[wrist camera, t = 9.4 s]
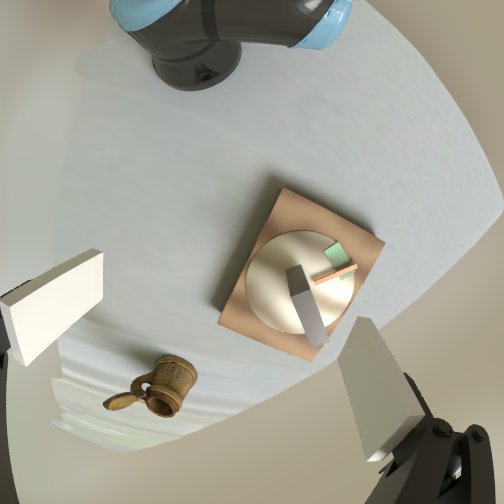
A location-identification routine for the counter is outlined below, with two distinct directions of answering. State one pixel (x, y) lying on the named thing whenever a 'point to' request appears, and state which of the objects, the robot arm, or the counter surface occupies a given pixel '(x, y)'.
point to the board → (314, 265)
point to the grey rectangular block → (310, 302)
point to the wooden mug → (159, 388)
